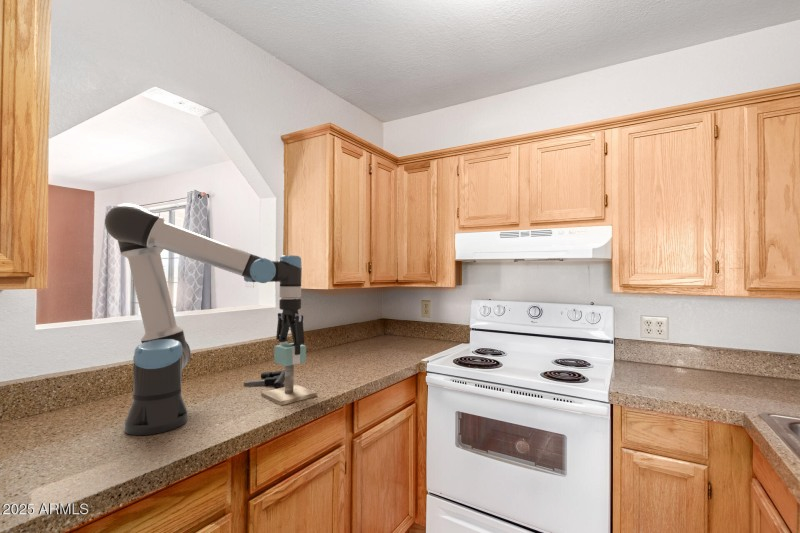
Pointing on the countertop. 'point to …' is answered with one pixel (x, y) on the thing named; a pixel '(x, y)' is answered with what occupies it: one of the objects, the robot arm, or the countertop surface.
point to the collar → (287, 354)
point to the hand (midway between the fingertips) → (289, 361)
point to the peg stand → (288, 390)
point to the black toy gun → (269, 379)
